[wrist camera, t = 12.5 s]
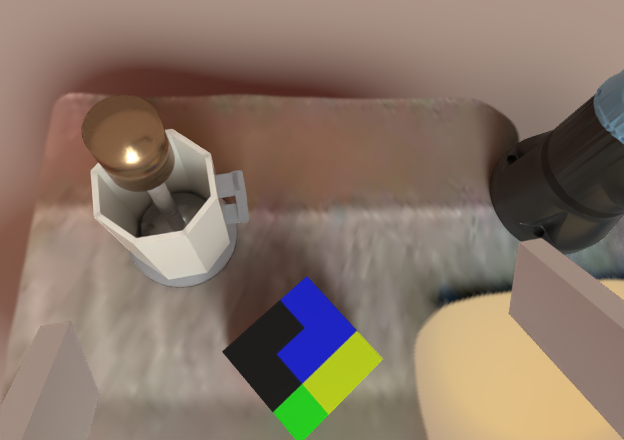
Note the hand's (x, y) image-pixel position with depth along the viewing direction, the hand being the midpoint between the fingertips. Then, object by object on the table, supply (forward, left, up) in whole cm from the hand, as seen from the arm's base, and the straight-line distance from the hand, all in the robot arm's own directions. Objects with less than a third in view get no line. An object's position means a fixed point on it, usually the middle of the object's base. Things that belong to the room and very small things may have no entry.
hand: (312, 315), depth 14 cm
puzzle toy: (-2, 0, -39) cm, 39 cm away
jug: (+8, -16, -39) cm, 43 cm away
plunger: (+8, -16, -36) cm, 40 cm away
